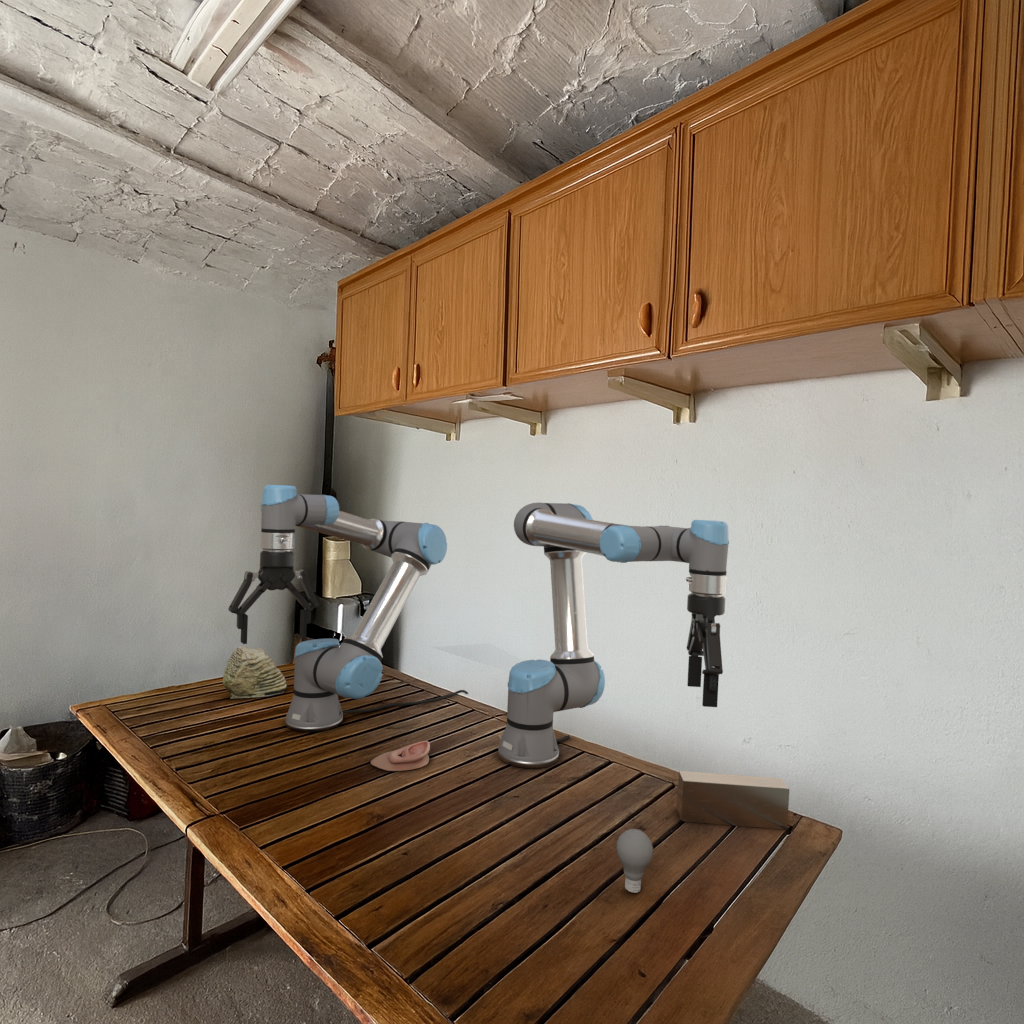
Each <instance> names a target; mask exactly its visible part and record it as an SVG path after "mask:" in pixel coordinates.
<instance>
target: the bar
mask: <svg viewBox="0 0 1024 1024" xmlns="http://www.w3.org/2000/svg"><path fill="white" fill-rule="evenodd" d="M677 782H678V783H677V800H676V801H677V802H676V811H677V813H678V816H679V819H680V821H681V822H686V823H687V822H688V823H698V824H709V825H710V824H712V825H722V826H733V827H734V826H735V827H748V828H761V829H772V830H785V831H787V830H788V825H789V824H788V823H789V805H790V804H789V803H790V788H789V786H788V785H787V784H786V783H785V781H784V780H783V779H782V778H780V777H766V776H753V775H740V774H726V773H716V772H715V773H712V772H699V771H686V770H678V780H677Z"/></svg>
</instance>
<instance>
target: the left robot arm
mask: <svg viewBox="0 0 1024 1024" xmlns="http://www.w3.org/2000/svg"><path fill="white" fill-rule="evenodd" d="M260 512H261V519H260V520H261V521H260V522H261V524H260V549H261V551H260V552H259V570H258V571H257V572H256V571H255V572H253V571H250V570H246V571H244V576H243V581H242V583H241V584H240V586H239V588H238V590H237V591H236V594H235V595H234V596H233V597H234V598H232V601H231V603H230V605H229V606H228V608H227V611H229V612H230V613H231V614H235V615H236V628H237V629H238V630H240V643H241V644H243V645H247V644H248V626H249V625H248V624H249V615H248V614H247V612H248V611H249V610H250V609H251V607H252V606H253V605H254V604H255V603H256V602H257V600H258V599H259V598H260V597H261V596H262V595H263V594H264V593H265V592H266V591H267V590H268V591H276V590H279V591H284V590H286V589H287V590H288V591H289V593H290V594H291V595H292V596H293V597H294V598H295V600H296V601H297V602H298V603H299V604H300V605H301V607H302V608H303V609H300V613H299V614H300V615H299V616H300V617H299V638H302V639H307V632H308V631H307V628H308V624H309V625H310V624H311V621H312V611H313V609H317V608H319V607H320V602H319V600H318V598H317V596H316V594H315V592H314V590H313V588H312V586H311V584H310V581H309V579H308V571H307V570H306V569H302V568H301V569H299V570H295V569H294V566H295V552H294V551H293V550H294V549H295V540H296V539H295V537H296V533H295V532H296V527H298V528H302V529H305V530H310V531H313V532H316V533H319V534H324V535H327V536H331V537H334V538H338V539H341V540H345V541H349V542H352V543H355V544H359V545H361V546H362V547H363V548H364V549H365V550H368V551H371V552H375V553H377V554H381V555H383V556H385V557H388V558H391V560H392V564H391V565H390V568H389V569H388V571H387V572H386V575H385V576H384V578H383V580H382V581H381V583H380V585H379V587H378V589H377V590H376V592H375V594H374V596H373V598H372V600H371V601H370V603H369V605H368V607H367V609H366V611H365V612H364V614H363V615H362V617H361V619H360V621H359V622H358V625H357V626H356V628H355V630H354V632H353V634H352V635H349V636H346V637H344V638H343V640H342V642H341V643H340V641H339V639H337V638H331V637H329V638H317V639H316V638H315V639H308V640H304V641H300V642H299V643H298V644H297V645H296V646H295V650H294V651H295V652H294V655H293V658H294V672H293V673H294V674H293V695H292V696H293V697H292V699H291V702H290V704H289V708H288V711H287V713H286V715H285V726H286V728H287V729H289V730H291V731H294V732H295V731H296V732H301V733H316V732H325V731H329V730H332V729H335V728H337V727H339V726H340V725H342V723H343V722H344V714H356V713H358V714H359V713H369V712H370V713H371V712H375V711H379V710H383V709H386V708H392V707H402V706H413V705H420V704H426V703H433V702H437V701H441V700H443V699H446V698H449V697H453V696H456V695H458V694H460V693H464V695H469V692H468V691H467V690H465V689H459V690H457V691H454V692H451V693H447V694H444V695H441V696H438V697H434V698H429V699H425V700H417V701H408V702H394V703H389V704H388V703H387V704H384V705H380V706H376V707H372V708H366V709H348V710H343V709H342V706H341V702H340V699H339V696H341V697H342V698H345V699H352V700H362V699H365V698H367V697H369V696H370V695H371V694H373V693H374V692H375V691H376V690H377V688H378V687H379V685H380V684H381V681H382V678H383V672H382V671H383V669H384V668H383V667H384V666H383V664H382V662H381V661H382V660H383V658H384V656H383V653H382V648H383V647H384V645H385V642H386V640H387V638H388V637H389V635H390V633H391V631H392V629H393V627H394V625H395V623H396V621H397V620H398V618H399V616H400V614H401V612H402V610H403V608H404V606H405V604H406V602H407V601H408V599H409V597H410V596H411V593H412V592H413V590H414V588H415V586H416V583H417V582H418V580H419V578H420V577H422V576H425V575H427V574H428V572H429V570H430V569H431V567H432V565H437V564H440V563H442V562H443V560H444V559H445V558H446V554H447V550H448V542H447V536H446V533H445V532H444V530H443V529H442V528H441V527H440V526H439V525H437V524H433V523H429V522H411V521H409V522H408V521H401V520H400V521H398V520H397V521H395V520H383V519H379V518H374V517H373V518H370V519H368V518H364V517H361V516H358V515H355V514H353V513H349V512H346V511H343V510H340V503H339V502H338V500H337V498H336V497H334V496H332V495H327V494H309V493H308V494H307V493H298V492H297V487H296V486H295V485H287V484H286V485H285V484H284V485H283V484H282V485H281V484H266V485H265V486H264V487H263V489H262V495H261V502H260ZM295 577H296V579H297V580H299V582H300V584H301V586H302V589H303V590H304V593H305V595H306V597H307V599H308V601H309V602H308V601H307V600H306V599H305V597H304V596H303V595H302V594H301V593H300V591H299V590H298V589H297V588H296V586H295V585H294V584H293V583H292V581H293V580H294V578H295ZM256 579H258V580H259V583H258V585H256V587H255V589H253V591H252V592H251V593H250V594H249V595H248V597H247V598H246V599H245V600H244V598H245V596H246V594H247V593H248V591H249V589H250V587H251V585H252V583H253V582H255V581H256ZM242 601H243V602H242Z"/></svg>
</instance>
